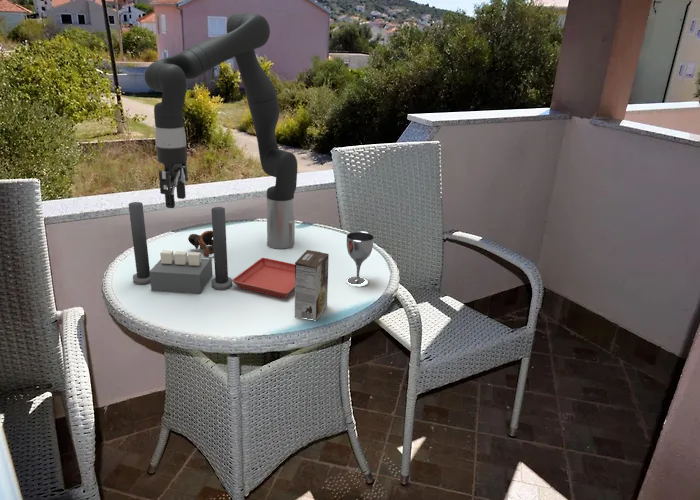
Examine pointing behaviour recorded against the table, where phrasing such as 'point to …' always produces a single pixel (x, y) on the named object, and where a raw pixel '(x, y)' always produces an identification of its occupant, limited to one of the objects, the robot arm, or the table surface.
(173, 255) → the paddles
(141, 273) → the post
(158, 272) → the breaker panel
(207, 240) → the brown curved piece
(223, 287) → the post
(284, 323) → the table surface
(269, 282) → the plant saucer
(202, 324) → the table surface
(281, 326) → the table surface
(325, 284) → the coffee box
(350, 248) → the wine glass
